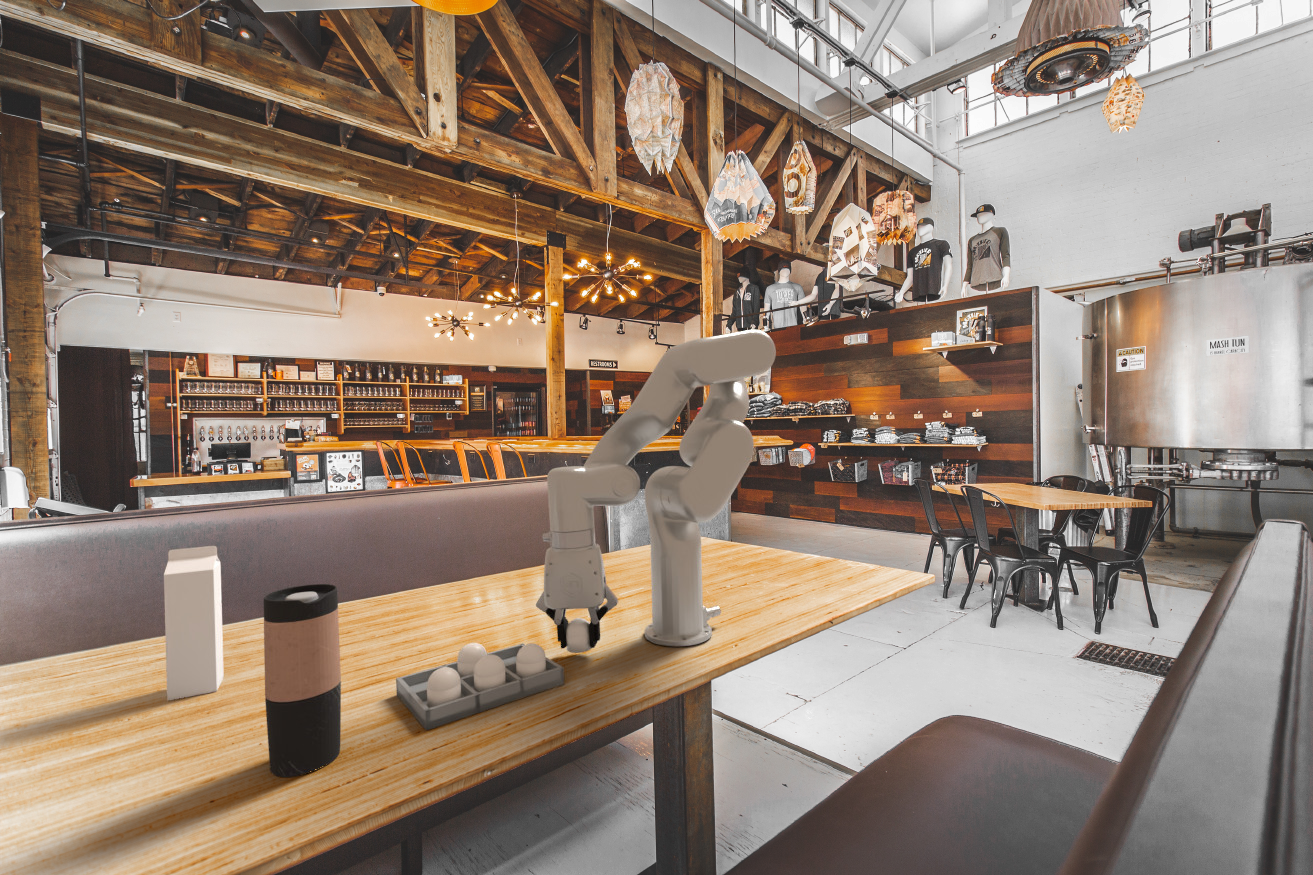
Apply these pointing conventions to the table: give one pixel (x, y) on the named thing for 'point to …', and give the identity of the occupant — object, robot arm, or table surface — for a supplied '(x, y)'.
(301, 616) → the travel mug
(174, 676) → the milk
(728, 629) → the table surface
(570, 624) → the egg
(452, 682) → the carton
